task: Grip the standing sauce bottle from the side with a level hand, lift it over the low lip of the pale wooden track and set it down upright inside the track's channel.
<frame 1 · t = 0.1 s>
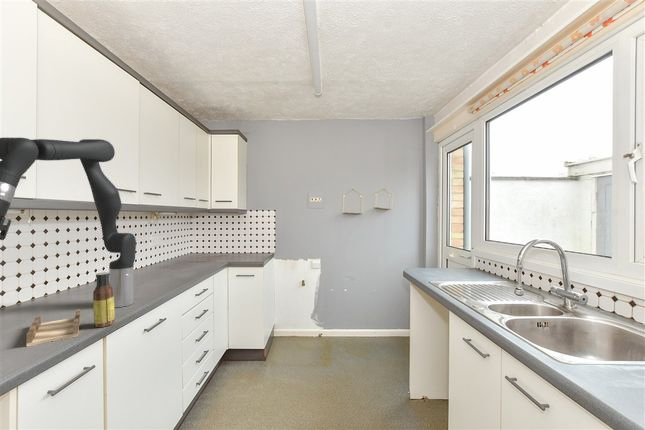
track: (56, 331, 102), on the countertop
sauce bottle: (104, 325, 108), on the countertop
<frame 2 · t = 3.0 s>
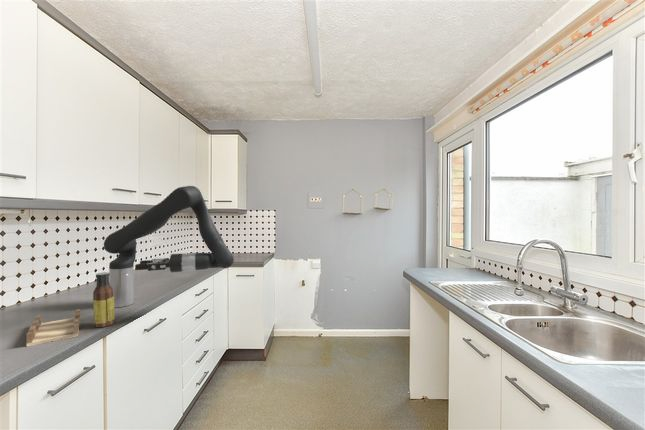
hand: (137, 265, 112), 22 cm above the countertop, tool horizontal, fingers open, 8 cm apart
nothing on the countertop moved.
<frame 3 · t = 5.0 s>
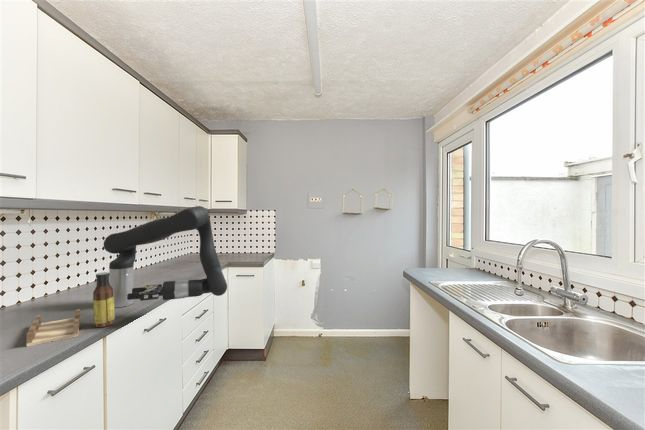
hand: (129, 293, 111), 11 cm above the countertop, tool horizontal, fingers open, 8 cm apart
nothing on the countertop moved.
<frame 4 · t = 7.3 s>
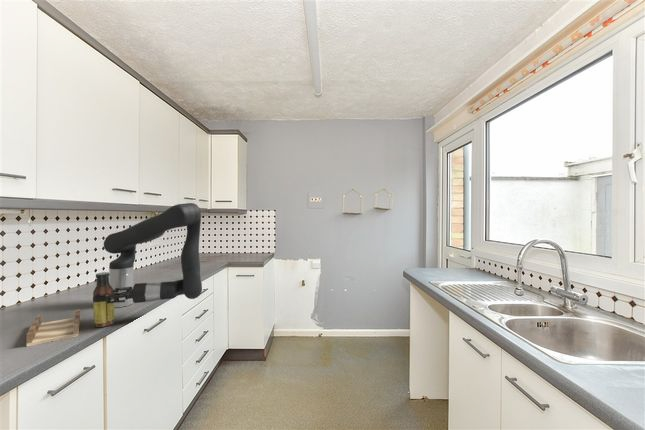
hand: (96, 296, 107), 11 cm above the countertop, tool horizontal, fingers closed on sauce bottle, 6 cm apart
sauce bottle: (104, 325, 108), on the countertop, touching gripper
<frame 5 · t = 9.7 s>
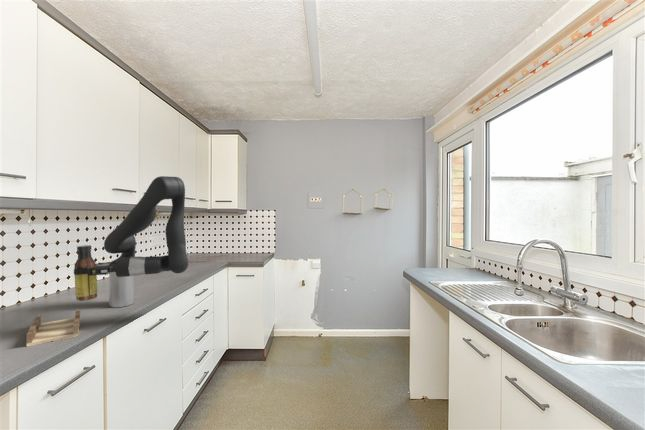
hand: (77, 269, 104), 22 cm above the countertop, tool horizontal, fingers closed on sauce bottle, 6 cm apart
sauce bottle: (86, 299, 105), point 10 cm above the countertop, touching gripper
when the fingers open (13 cm above the countertop, at t = 12.5 s): sauce bottle drops 1 cm, resting on track.
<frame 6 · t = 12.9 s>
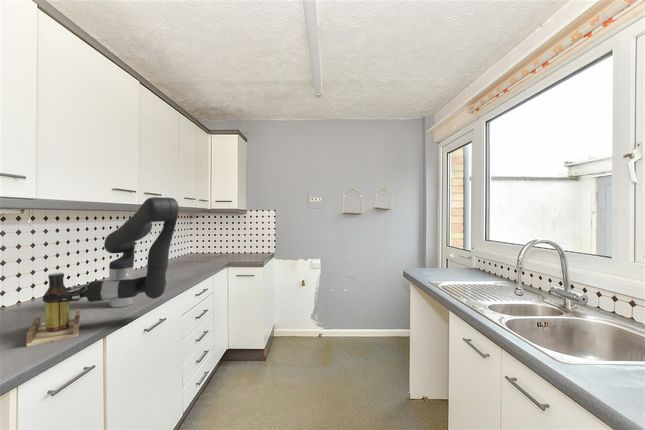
hand: (49, 295, 100), 14 cm above the countertop, tool horizontal, fingers open, 8 cm apart
sauce bottle: (57, 329, 101), point 1 cm above the countertop, touching track
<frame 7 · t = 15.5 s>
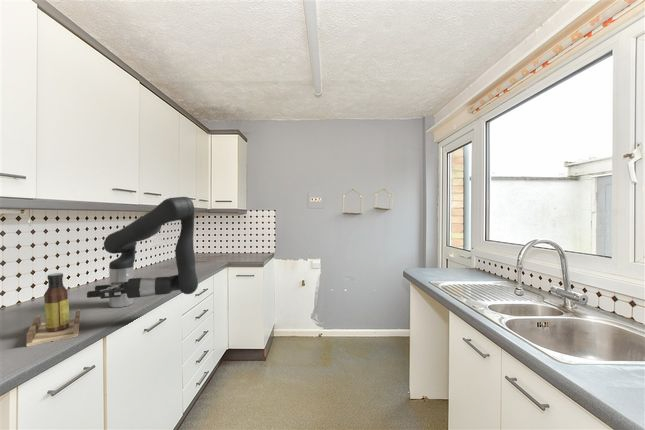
hand: (91, 291, 105), 14 cm above the countertop, tool horizontal, fingers open, 8 cm apart
nothing on the countertop moved.
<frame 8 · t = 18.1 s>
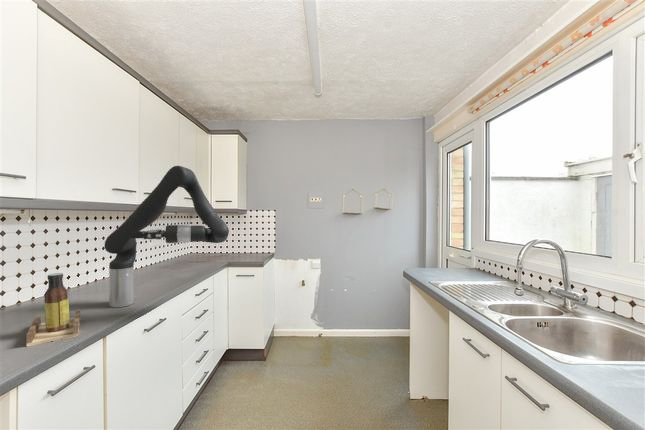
hand: (133, 234, 113), 34 cm above the countertop, tool horizontal, fingers open, 8 cm apart
nothing on the countertop moved.
at the end: sauce bottle inside the target area on the track (0.9 cm from its centre), point 0.8 cm above the track's base; sauce bottle tilted 0°; the gripper is holding nothing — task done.
